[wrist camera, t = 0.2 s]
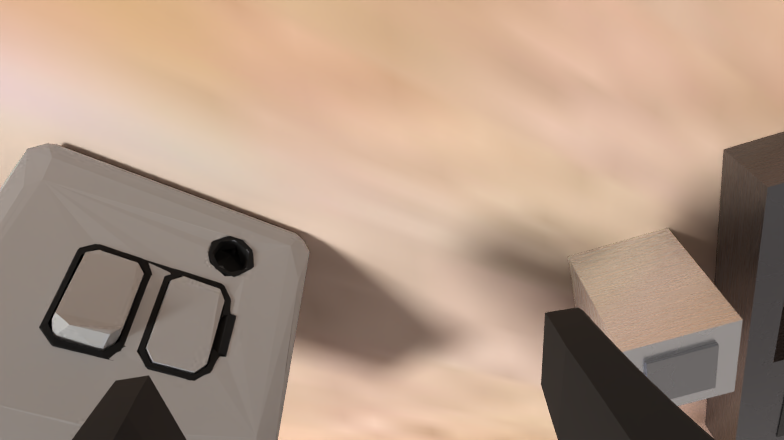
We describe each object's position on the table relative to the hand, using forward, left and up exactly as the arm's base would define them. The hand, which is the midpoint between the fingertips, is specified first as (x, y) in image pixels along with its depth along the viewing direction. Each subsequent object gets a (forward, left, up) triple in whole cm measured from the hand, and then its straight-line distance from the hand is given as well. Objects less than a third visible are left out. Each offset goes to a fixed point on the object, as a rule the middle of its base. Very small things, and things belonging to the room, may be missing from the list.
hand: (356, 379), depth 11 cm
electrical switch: (-2, +7, -10) cm, 13 cm away
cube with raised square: (-10, -9, -10) cm, 17 cm away
